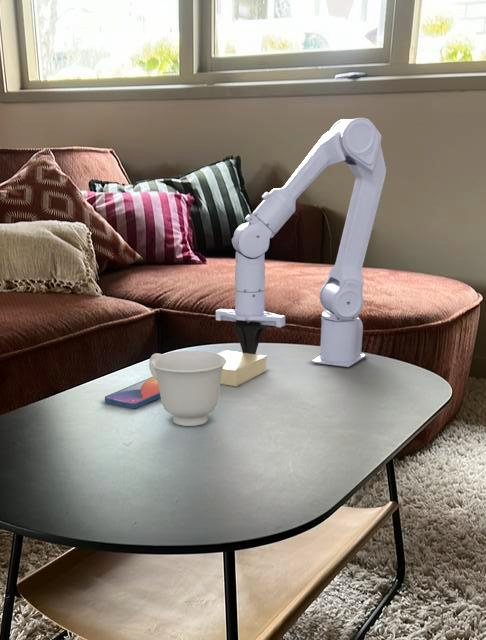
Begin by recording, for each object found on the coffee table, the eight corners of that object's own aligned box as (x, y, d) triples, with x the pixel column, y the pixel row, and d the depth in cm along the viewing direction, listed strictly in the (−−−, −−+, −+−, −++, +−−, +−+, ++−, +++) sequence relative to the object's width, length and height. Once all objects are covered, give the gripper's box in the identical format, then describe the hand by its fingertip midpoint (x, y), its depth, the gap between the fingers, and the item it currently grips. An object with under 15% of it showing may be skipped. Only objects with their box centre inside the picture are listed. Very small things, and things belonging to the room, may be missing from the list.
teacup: (179, 400, 134) (177, 344, 129) (242, 419, 124) (242, 358, 120) (126, 417, 126) (122, 358, 122) (190, 438, 117) (187, 374, 112)
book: (225, 364, 155) (225, 349, 153) (266, 370, 150) (266, 355, 149) (193, 379, 145) (192, 363, 144) (235, 386, 141) (235, 370, 140)
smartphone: (102, 403, 134) (101, 397, 133) (155, 380, 145) (154, 375, 144) (134, 410, 130) (134, 404, 129) (186, 386, 141) (186, 381, 140)
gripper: (207, 290, 147) (208, 359, 153) (273, 296, 140) (272, 368, 146) (225, 284, 153) (226, 351, 159) (290, 290, 146) (288, 360, 152)
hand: (249, 359), depth 153 cm, fingers closed, pressing on book
